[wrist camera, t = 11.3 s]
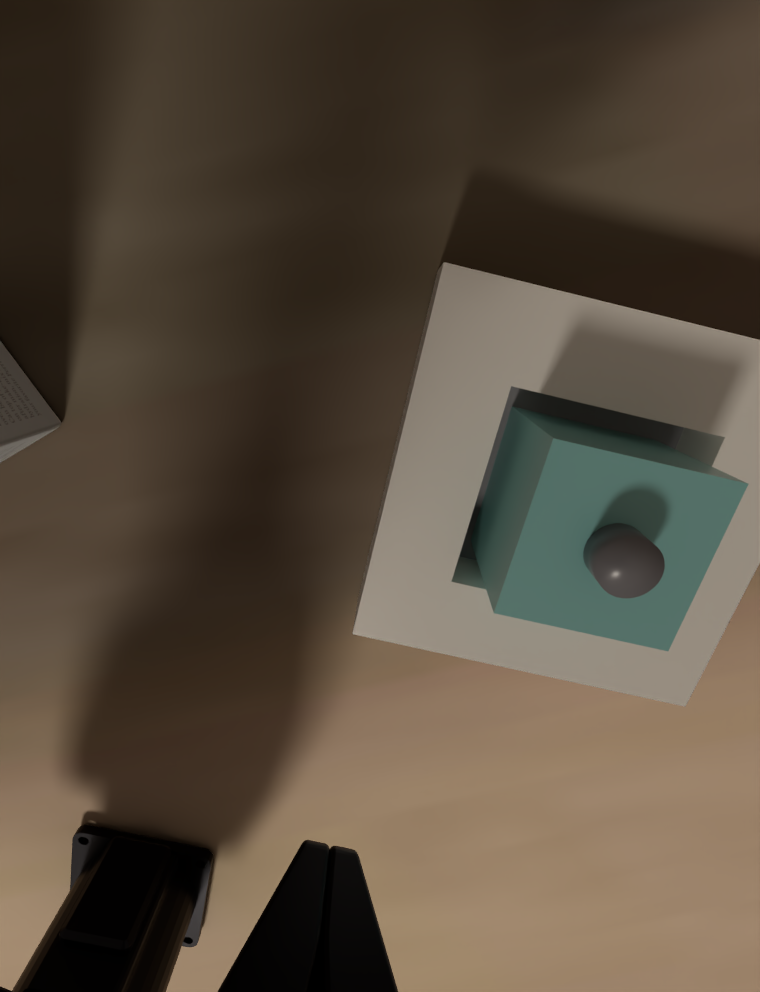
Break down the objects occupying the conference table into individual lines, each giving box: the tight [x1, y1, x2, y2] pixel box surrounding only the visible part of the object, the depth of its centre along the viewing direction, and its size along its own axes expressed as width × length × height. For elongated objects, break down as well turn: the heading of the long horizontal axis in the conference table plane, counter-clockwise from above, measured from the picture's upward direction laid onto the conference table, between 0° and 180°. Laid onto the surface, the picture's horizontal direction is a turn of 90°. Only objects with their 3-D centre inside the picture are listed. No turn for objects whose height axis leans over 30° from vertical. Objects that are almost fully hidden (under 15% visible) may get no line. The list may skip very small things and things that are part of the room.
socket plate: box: [353, 262, 760, 706], centre depth 17 cm, size 12×12×2 cm
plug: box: [471, 406, 748, 651], centre depth 15 cm, size 5×5×6 cm
